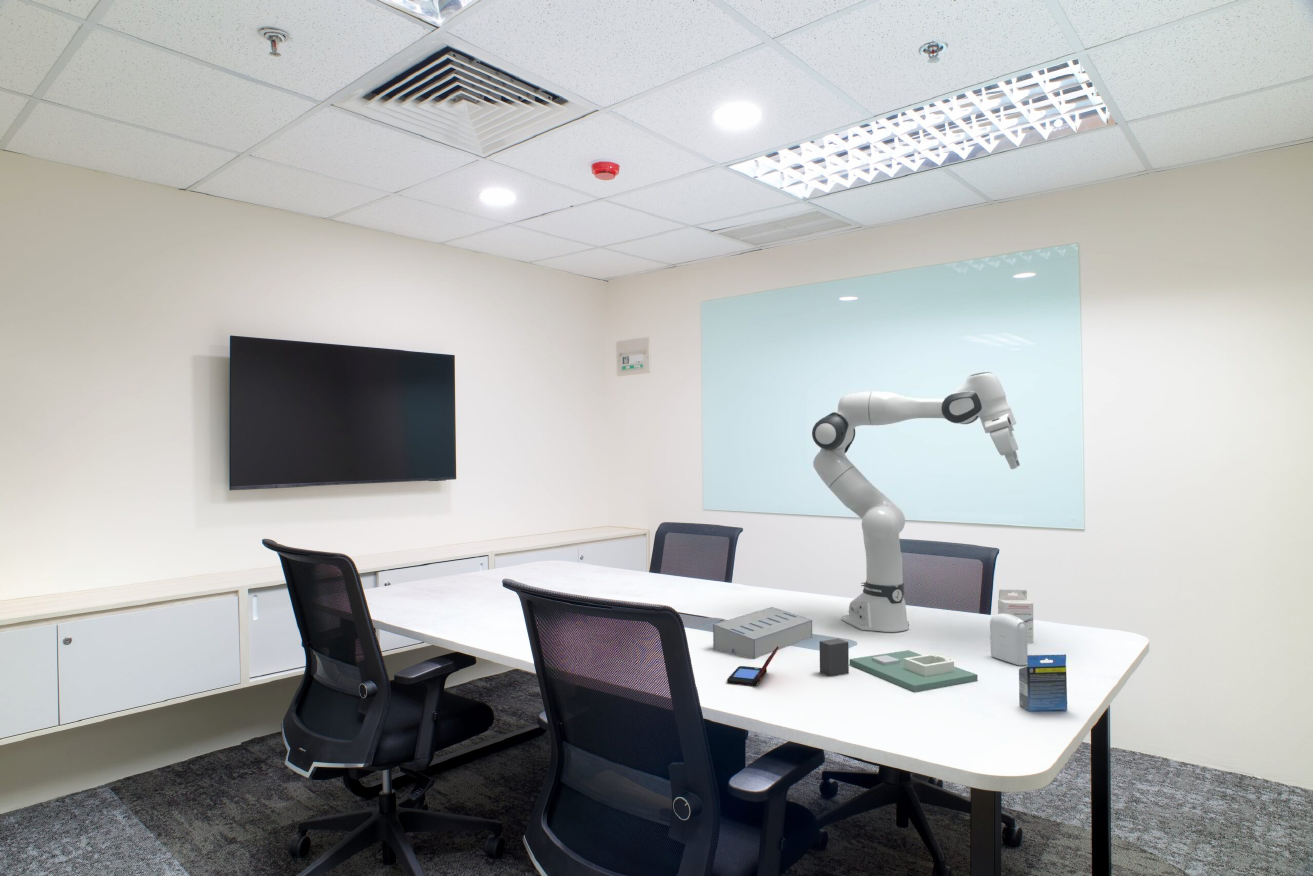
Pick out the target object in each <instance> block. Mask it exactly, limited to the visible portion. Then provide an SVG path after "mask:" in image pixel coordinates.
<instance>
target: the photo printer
mask: <svg viewBox="0 0 1313 876" xmlns="http://www.w3.org/2000/svg"><path fill="white" fill-rule="evenodd" d="M989 633H990V634H989V635H990V636H989V637H990V656H991V657H993V658H995V659H998V660H1001V661H1004V662H1007V663H1009V664H1012V665H1016V666H1027V655H1029V654H1028V651H1029V650H1028V643H1027V626H1026V623H1025V622H1024V621H1022V620H1021V619H1019V618H1017V617H1015V616H1013V615H1009V614H998V613H996V614H992V615H991V617H990V620H989Z"/></svg>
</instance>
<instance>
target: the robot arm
mask: <svg viewBox="0 0 1313 876" xmlns="http://www.w3.org/2000/svg"><path fill="white" fill-rule="evenodd" d="M1006 396H1007V395H1006V393H1005V391H1004V388H1003V385H1002V383H1001V381H1000V379H999V377H998V376H997V375H996V374H995V373H992V372H988V371H986V372H985V371H983V372H978V373H974V374H971V375H969V376H967V378H966V380H965V381H964V382H963V383H962V384H961V385H960V386H959V387H958V388H957V389H956V390H954V391H953V392H951V393H950V394H949V395H947V396H946V397H944V398H915V397H914V398H913V397H909V396H906V395H902V394H899V393H896V392H890V391H883V390H882V391H881V390H872V391H871V390H870V391H859V392H851V393H847V394H844V395H843V396H842V397H841V398H840V400H839V401H838V404H837V412H835V411H833V412H831V413H829V414H828V415H825V416H824V417H822V418H820V419H819V420H818V421H817V422H815V424H814V425H813V428H812V430H811V437H812V440H813V442H814V443H815V445H816V446H817V447H819V448H820V451H818V453H817V454H816V455H815V457H814V458H813V461H812V463H813V464H812V465H813V468H814V470H815V471H816V474H817V475H818V476H819V478H820V479H821V481H822V482H823V483H824V484H825V485H826V487H827V488H828V489H829V490H830V492H832V493H833V494H834V495H835V497H837V499H838V500H839V501H840V502H841V503H842V504H843V505H844V506H845V507H846V509H849V510H850V511H851V512H853V513H854V514H855V515H856V516H857V517H859V518H860V520H861V529H862V535H863V544H864V545H863V546H864V549H865V550H864V551H865V557H866V559H865V563H866V581H865V582H861V583H860V584H862V585H860V586H861V587H863V590H862V593H861V594H859V595H858V596H857V597H856V598H854V599H853V600H851V602H850V603H849V606H848V614H846V615H843V616H842V617H841V621H843V622H845V623H847V624H849V625H851V626H853V627H855V628H857V629H859V630H862V631H874V632H886V633H891V632H892V633H895V632H896V633H897V632H904V631H907V630H908V629H909V628H910V627H909V625H910V621H909V620H908V616H907V608H906V607H907V606H906V600H905V598H904V595H905V585H904V581H903V578H904V577H903V556H902V551H901V550H902V549H901V543H900V533H901V532H902V531H903V529H904V528H905V524H906V519H905V518H906V517H905V514H904V512H903V511H902V509H901V508H899V507H898V506H897V505H896V504H895V503H894V502H893V501H892V500H891V499H890V498H888V496H887V495H885V494H884V493H883V492H882V491H881V490H879V489H878V488H877V487H876V486H875V485H873V484H872V483H871V482H870V481H869V479H867V478H866V477H865V476H864V474H863V473H862V471H860V470H859V469H858V468H857V467H856V465H855V464H853V463H852V462H851V461H850V460H849V459H848V457H847V456H846V453H847V452H848V451H849V449H850V447H851V445H852V444H853V442H854V440H855V437H856V428H857V427H860V426H884V425H893V424H897V423H901V422H904V421H908V420H913V419H915V420H916V419H946V420H947V421H948V422H950V423H954V424H958V425H970V424H972V423H974V422H976V421H977V420H978V419H980V422H981V425H982V427H983V430H984V433H985V434H989V436H990V437H991V440H992V442H993V444H994V446H995V448H996V450H997V452H998V453H999V455H1000V457H1001V456H1004V457H1005V460H1006V462H1007V464H1008V465H1009V468H1010V469H1011V470H1014V469H1017V468H1018V467H1019V466H1021V463H1020V461H1019V457H1018V453H1017V451H1018V450H1019V446H1018V443H1017V440H1016V438H1015V436H1014V434H1013V432H1014V431H1015V430H1014V427H1013V426H1015V425H1016V424H1017V422H1016V421H1017V420H1016V418H1015V417H1014V414H1013V413H1014V412H1012V408H1011V406H1010V405H1009V404H1008V402H1007V398H1006Z"/></svg>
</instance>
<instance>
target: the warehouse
mask: <svg viewBox="0 0 1313 876" xmlns="http://www.w3.org/2000/svg"><path fill="white" fill-rule="evenodd" d="M712 631H713V632H712V633H713V634H712V635H713V637H712V638H713V639H712V641H713V645H712V648H713V650H715V651H719V652H724V653H728V654H734V655H736V656H741V657H746V658H750V659H753V660H755V659H758V658H760V657H764V656H766V655H768V654H772V652H773V651H774V650H775V649H776V647H777V646H778V647H779V648H778V650H777V651H780V650H782V649H785V648H787V647H791V646H793V645H795V644H798V643H800V642H803V641H806V640H809V639H811V638H812V639H813V619H810V618H807V617H804V616H800V615H798V614H795V613H793V612H788V611H785V610H782V609H779V608H776V607H774V606H772V607H769V608H765V609H761V610H757V611H754V612H751V613H748V614H744V615H742V616H736V617H733V618H730V619H726V620H724V621H721V622H716V623H713V624H712Z"/></svg>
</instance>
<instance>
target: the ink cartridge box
mask: <svg viewBox="0 0 1313 876" xmlns="http://www.w3.org/2000/svg"><path fill="white" fill-rule="evenodd" d="M1012 593H1014V594H1017V595H1013V594H1012ZM1010 594H1011V595H1010ZM1027 597H1028V591H1027V589H1004V588H1003V589H999V590H998V601H997V614H1009V615H1013V616H1015V617H1017V618H1019V619H1021V620H1022V621H1024V622H1025V623H1026V626H1027V644H1029V643H1030V644H1031V643H1034V603H1033V602H1031V601H1029V600H1028V599H1027Z"/></svg>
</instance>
